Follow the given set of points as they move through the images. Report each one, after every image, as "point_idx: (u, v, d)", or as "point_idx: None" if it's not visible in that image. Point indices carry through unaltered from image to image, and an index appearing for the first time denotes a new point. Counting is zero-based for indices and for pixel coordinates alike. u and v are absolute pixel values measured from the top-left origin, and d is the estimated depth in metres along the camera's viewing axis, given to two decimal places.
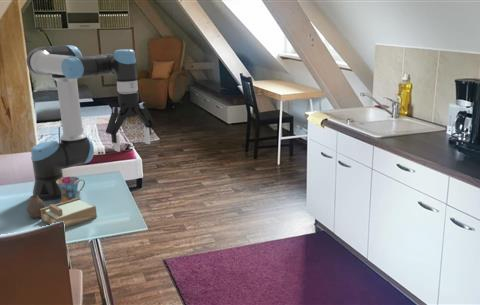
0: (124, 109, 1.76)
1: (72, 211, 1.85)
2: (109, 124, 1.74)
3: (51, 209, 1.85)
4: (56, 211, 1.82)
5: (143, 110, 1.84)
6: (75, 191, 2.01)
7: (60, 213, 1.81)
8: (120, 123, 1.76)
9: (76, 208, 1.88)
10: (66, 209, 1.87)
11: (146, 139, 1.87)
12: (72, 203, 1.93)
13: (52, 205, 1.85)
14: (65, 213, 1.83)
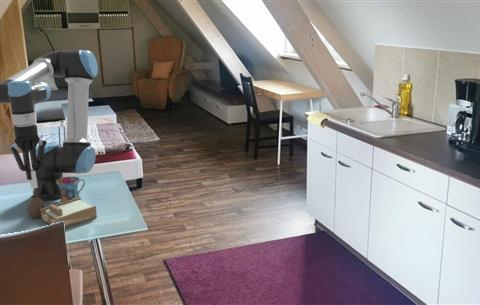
0: (20, 142, 1.68)
1: (72, 211, 1.85)
2: (18, 163, 1.70)
3: (51, 209, 1.85)
4: (56, 211, 1.82)
5: (39, 147, 1.75)
6: (75, 191, 2.01)
7: (60, 213, 1.81)
8: (27, 159, 1.71)
9: (76, 208, 1.88)
10: (66, 209, 1.87)
11: None
12: (72, 203, 1.93)
13: (52, 205, 1.85)
14: (65, 213, 1.83)
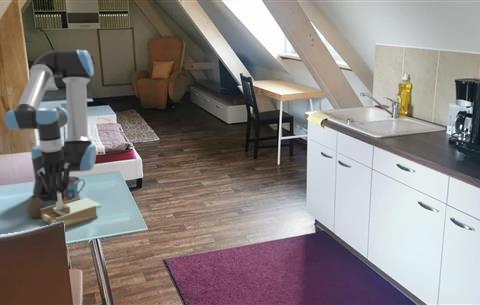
0: (47, 166, 1.77)
1: (79, 209, 1.87)
2: (45, 186, 1.79)
3: None
4: (64, 209, 1.84)
5: (65, 170, 1.84)
6: (75, 191, 2.01)
7: (68, 211, 1.83)
8: (54, 182, 1.80)
9: (83, 206, 1.90)
10: (74, 207, 1.89)
11: None
12: (79, 200, 1.95)
13: None
14: (72, 211, 1.85)
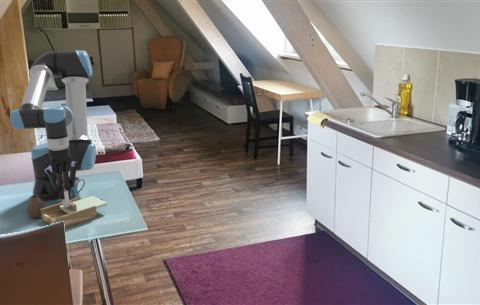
0: (55, 164, 1.79)
1: (86, 207, 1.89)
2: (52, 184, 1.81)
3: None
4: (70, 206, 1.86)
5: (71, 169, 1.85)
6: (75, 191, 2.01)
7: (74, 208, 1.85)
8: (61, 180, 1.82)
9: (90, 204, 1.92)
10: (80, 205, 1.91)
11: None
12: (85, 199, 1.97)
13: None
14: (79, 208, 1.87)
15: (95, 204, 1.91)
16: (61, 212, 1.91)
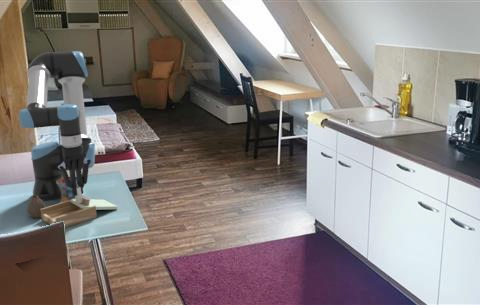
0: (68, 161, 1.83)
1: (97, 205, 1.92)
2: (65, 180, 1.85)
3: None
4: (83, 200, 1.89)
5: (84, 165, 1.89)
6: None
7: (87, 203, 1.89)
8: (74, 176, 1.85)
9: (101, 204, 1.95)
10: (92, 203, 1.94)
11: None
12: (96, 200, 2.01)
13: None
14: (91, 205, 1.91)
15: (106, 205, 1.95)
16: (61, 212, 1.91)
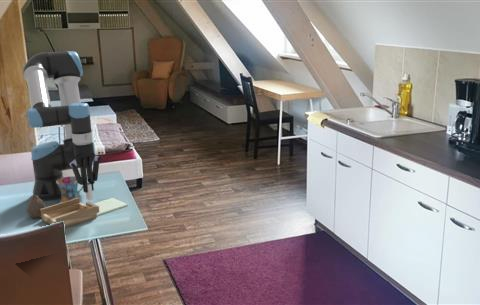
0: (79, 159, 1.86)
1: (107, 208, 1.96)
2: (76, 177, 1.88)
3: (88, 206, 1.96)
4: None
5: (94, 163, 1.92)
6: (75, 191, 2.01)
7: (97, 210, 1.92)
8: (84, 174, 1.88)
9: (111, 205, 1.99)
10: (102, 207, 1.98)
11: None
12: (106, 200, 2.05)
13: (89, 202, 1.96)
14: (101, 210, 1.94)
15: (116, 206, 1.99)
16: (61, 212, 1.91)
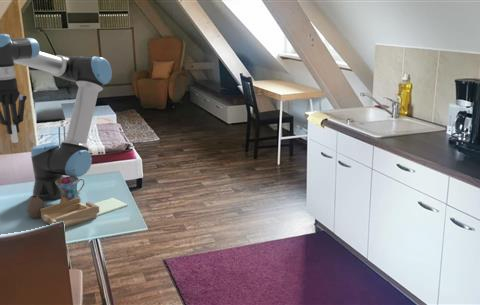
0: (0, 95, 1.70)
1: (108, 208, 1.96)
2: None
3: (88, 206, 1.96)
4: None
5: (20, 102, 1.76)
6: (74, 191, 2.01)
7: (97, 210, 1.92)
8: (7, 113, 1.73)
9: (111, 205, 1.99)
10: (102, 207, 1.98)
11: None
12: (106, 200, 2.04)
13: (89, 202, 1.96)
14: (101, 210, 1.95)
15: (116, 206, 1.99)
16: (61, 212, 1.91)
